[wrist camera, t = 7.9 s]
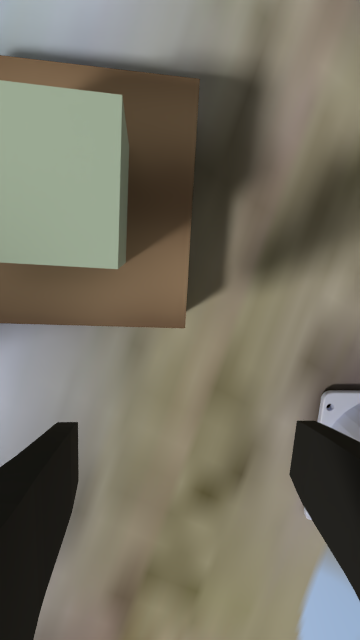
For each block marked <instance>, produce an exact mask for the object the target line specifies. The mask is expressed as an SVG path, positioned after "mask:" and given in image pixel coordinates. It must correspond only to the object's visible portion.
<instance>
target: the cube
mask: <svg viewBox="0 0 360 640" xmlns="http://www.w3.org/2000/svg"><path fill="white" fill-rule="evenodd" d="M128 170H129V142H128V134H127V127H126V119H125V112H124V104H123V97H122V95H119V94H110V93H102V92H94V91H85V90H77V89H69V88H60V87H52V86H44V85H36V84H27V83H19V82H11V81H2V80H0V262H1V263H18V264H35V265H53V266H70V267H88V268H105V269H119V268H120V267H121V266H122V265H124V264H125V263H126V238H127V204H128Z"/></svg>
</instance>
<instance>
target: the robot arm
mask: <svg viewBox="0 0 360 640" xmlns="http://www.w3.org/2000/svg"><path fill="white" fill-rule="evenodd" d="M328 404H331V405H330V407H329V408H326V407H327V405H328ZM290 477H291V479H292V481H293V484H294V486H295V488H296V491H297V493H298V495H299V497H300V499H301V502H302V504H303V505H304V514H305V515H306V517H307V519H309V520H312V521H313V522H314V524H315V526H316V527H317V529H318V530H319V532H320V534H321V535H322V537H323V539H324V540H325V542H326V543H327V545H328V547H329V548H330V550H331V552H332V553H333V555H334V557H335V558H336V560H337V561H338V563H339V565H340V566H341V568H342V569H343V571H344V573H345V575H346V576H347V578H348V580H349V582H350V583H351V585H352V587H353V589H354V590H355V592H356V594H357V596H358V598H359V600H360V391H351V390H329V391H326V392H324V393H323V395H322V397H321V402H320V409H319V415H318V422H316V421H297V425H296V432H295V439H294V446H293V454H292V461H291V468H290ZM77 485H78V422H58V423H56V424H55V425H54V426H52V427H51V428H50V429H49V430H47V431H46V432H45V433H44V434H43V435H41V436H40V437H39V438H38V439H37V440H35V441H34V442H33V443H32V444H30V445H29V446H28V447H27V448H25V449H24V450H23V451H22V452H20V453H19V454H18V455H17V456H15V457H14V458H12V459H11V460H10V461H8V462H7V463H6V464H4V465H3V466H1V467H0V640H33V638H34V634H35V630H36V626H37V622H38V617H39V613H40V610H41V606H42V603H43V599H44V596H45V593H46V590H47V587H48V584H49V581H50V577H51V574H52V571H53V568H54V565H55V562H56V559H57V556H58V553H59V550H60V547H61V544H62V541H63V538H64V535H65V532H66V529H67V526H68V523H69V520H70V516H71V513H72V509H73V504H74V500H75V495H76V490H77Z"/></svg>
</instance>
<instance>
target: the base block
mask: <svg viewBox="0 0 360 640" xmlns="http://www.w3.org/2000/svg"><path fill="white" fill-rule="evenodd" d="M0 80H2V81H11V82H19V83H27V84H36V85H44V86H52V87H60V88H69V89H77V90H85V91H94V92H102V93H110V94H119V95H122V97H123V104H124V112H125V119H126V127H127V134H128V142H129V170H128V204H127V238H126V263H125V264H124V265H122V266H121V267H120V268H119V269H105V268H88V267H70V266H53V265H35V264H18V263H1V262H0V323H13V324H50V325H86V326H123V327H159V328H185V319H186V302H187V285H188V268H189V251H190V234H191V217H192V200H193V183H194V166H195V149H196V133H197V116H198V99H199V82H200V79H196V78H187V77H179V76H170V75H162V74H154V73H145V72H137V71H128V70H120V69H111V68H103V67H95V66H86V65H78V64H69V63H61V62H52V61H44V60H36V59H27V58H19V57H10V56H2V55H0Z"/></svg>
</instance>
